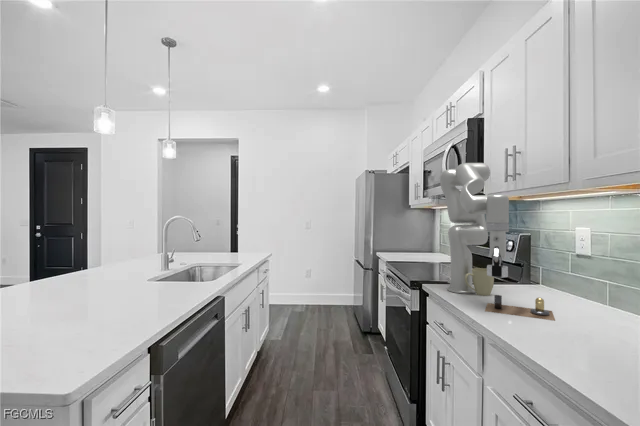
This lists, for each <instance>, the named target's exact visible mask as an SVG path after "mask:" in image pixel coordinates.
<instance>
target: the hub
mask: <svg viewBox="0 0 640 426" xmlns="http://www.w3.org/2000/svg"><path fill="white" fill-rule="evenodd" d="M544 300H545V299H543V298H542V297H536V299H535V300H534V302H535V304H534V305H535V306H534V307H535V308H533V309H531V310H530V313H531V314H534V315H538V316H549V311H550V310H549V311H547V310H548V309H545V301H544Z"/></svg>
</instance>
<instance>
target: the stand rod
mask: <svg viewBox="0 0 640 426" xmlns="http://www.w3.org/2000/svg"><path fill="white" fill-rule="evenodd" d="M493 296H494V297H493V299H494V301H493V302H494V303H493V304H494V308H495V309H502V305H503V300H502V299H503V298H502V295H501V294H494V295H493Z"/></svg>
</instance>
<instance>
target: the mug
mask: <svg viewBox="0 0 640 426" xmlns="http://www.w3.org/2000/svg"><path fill="white" fill-rule="evenodd" d="M468 275H471V276H472V287H471V286H470V285H469V284H468V282H467V276H468ZM465 282H466V284H467V285H468V286H469V287H470V288H471V289H473V288H474V289H475V290H474V289H473V290H474V291H476V292H475V294H476V296H477V295H478V296H483V297H484V296H485V297H488V296H491V295H492V291H493V288H494V283H495V277H492V276H488V275H487V268H483V267H481V268H480V267H476V268H472V274H470V273H468V274H466V276H465Z"/></svg>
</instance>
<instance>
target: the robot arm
mask: <svg viewBox="0 0 640 426" xmlns="http://www.w3.org/2000/svg"><path fill="white" fill-rule="evenodd" d="M490 175H491V169H490V167H489V165H488V164H486V163H484V162H463V163H461V164H459V165H457V166H456V168H450V169H449V168H448V169H445V170H443V171H442V172H441V174H440V177H439V183H440V188H441V190H442V193H443V196H444V197H445V203H446V207H447V208H446V209H447V215H448V218H449V221H450V222H451V223H453V224H456V225H452V226H450V227H449V229H448V233H447V235H448V241H449V242H448V243H449V248H450V249H449V250H450V279H449V280H448V281H447V284H449V286H447V291H449V292H451V293H455V294H461V295H462V294H463V295H464V294H469V295H470V294H476V291H474V290H475V288H474V287H473V277H472V276H471V275H468V276H467V282H468V284H469V285H470V286H471V287H472V288H473V289H474V290H473V289H471V288H470V287H469V286H468V285H467V284H466V282H465V276H466V274H468V273H470V274H472V269H473V255H472V251H471V250H470V248H469V247H468V246H469V245H470V246H471V245H472V246H475V245H476V246H480V245H481V246H482V245H485V244H486V243H487V242H488V239H489V251H490V252H489V254H490V255H489V256H490V258H492V264H491V265H492V276H493V277H494V278H501V277H502V266H501V265H503V260H505V259H506V258H507V233H509V231H510V216H509V215H510V207H509V206H510V201H509V199H510V198H509V196H508V195H506V194H490V195H489V194H488V195H485V194H483V195H479V193H480V192H481V191H482V190H483V189H484V187H485V184H486V181H488V180H489V178H490ZM459 186H460V187H462V188H461V190H460V189H459V188H458V187H459ZM476 194H478V195H476ZM488 232H489V233H488ZM503 266H504V265H503ZM502 278H503V277H502Z"/></svg>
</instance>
